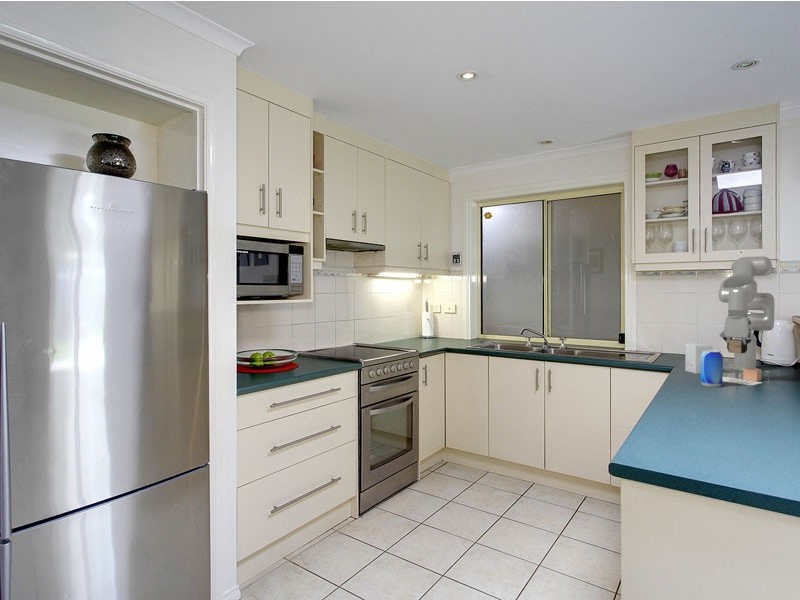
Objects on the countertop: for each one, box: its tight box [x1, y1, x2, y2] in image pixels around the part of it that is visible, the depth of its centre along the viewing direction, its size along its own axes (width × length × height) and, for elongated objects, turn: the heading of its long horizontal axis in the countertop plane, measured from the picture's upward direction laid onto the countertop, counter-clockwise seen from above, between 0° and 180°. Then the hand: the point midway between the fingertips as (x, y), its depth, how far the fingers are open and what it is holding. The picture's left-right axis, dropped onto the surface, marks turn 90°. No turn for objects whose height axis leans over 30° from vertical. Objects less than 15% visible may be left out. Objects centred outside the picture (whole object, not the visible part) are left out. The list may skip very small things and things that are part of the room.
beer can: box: [699, 349, 724, 388], centre depth 208 cm, size 8×8×16 cm
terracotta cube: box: [742, 368, 763, 382], centre depth 220 cm, size 6×6×6 cm
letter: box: [722, 376, 763, 386], centre depth 218 cm, size 13×17×1 cm
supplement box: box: [684, 343, 713, 374], centre depth 240 cm, size 9×9×15 cm
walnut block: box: [728, 338, 743, 354], centre depth 217 cm, size 5×5×6 cm
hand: (736, 351), depth 217 cm, fingers closed on walnut block, 5 cm apart
